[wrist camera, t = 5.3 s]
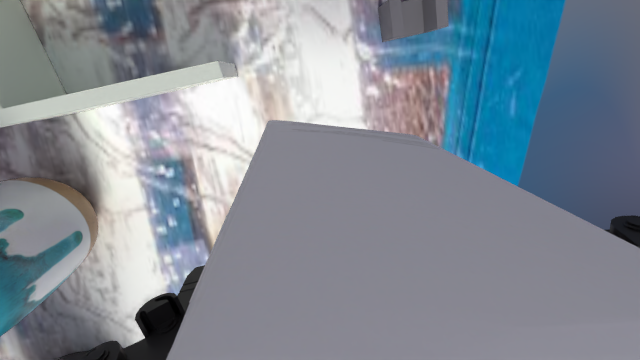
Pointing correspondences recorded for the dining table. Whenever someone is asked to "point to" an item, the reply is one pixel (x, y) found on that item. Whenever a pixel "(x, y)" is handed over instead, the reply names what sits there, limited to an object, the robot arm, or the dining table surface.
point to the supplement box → (403, 261)
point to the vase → (39, 242)
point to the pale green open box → (46, 89)
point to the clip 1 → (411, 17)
